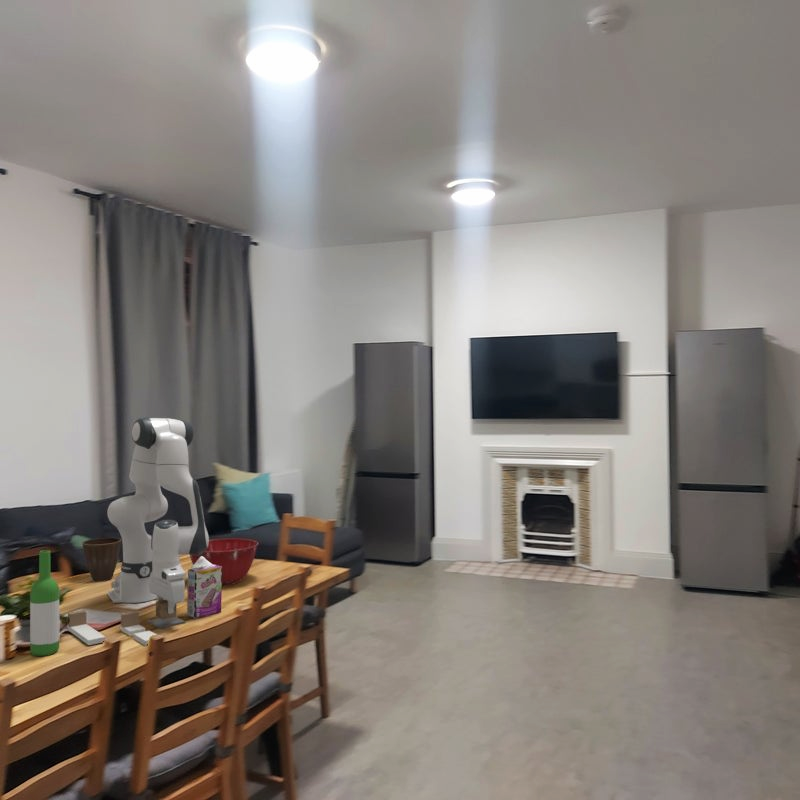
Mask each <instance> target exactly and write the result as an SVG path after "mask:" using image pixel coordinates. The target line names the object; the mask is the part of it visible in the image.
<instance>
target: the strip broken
mask: <svg viewBox="0 0 800 800" xmlns="http://www.w3.org/2000/svg"><path fill="white" fill-rule="evenodd" d="M120 631H121V632H123V633H124V634H125V635H128V636H129V637H132V636H133V639H134V640H135V641H137V642H139V644H142V645H143V646H145V647H147V646H148V645H147V644H148V640H149V638H150V636H152V635H157V633H155V632H153V631H151V630H146V628H145V627H144V626H142V625H140V612H139V611H137V610H131V611H127V612H122V613H120ZM146 645H147V646H146Z"/></svg>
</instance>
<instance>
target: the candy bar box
mask: <svg viewBox="0 0 800 800" xmlns="http://www.w3.org/2000/svg"><path fill="white" fill-rule="evenodd" d="M222 586H223V585H222V566H219V565H208V566H203V567H198V568H193V569H191V568H190V569H187V605H186V607H187V611H186V614H187V617H188V618H191V619H193V620H196V619H200V618H204V617H207V616H211V615H212V616H213V615H215V614H219V613H221V612H222Z"/></svg>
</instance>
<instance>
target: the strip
mask: <svg viewBox="0 0 800 800" xmlns="http://www.w3.org/2000/svg"><path fill="white" fill-rule="evenodd" d="M68 617H69V618H70V623H69V624H68V623H67V631H68V632H70V633H71V634H73V635H74V636H75V637H76V638H78V639H79V640H81V641H82V642H84V643H85V644H86V645H88V646H91V645H97V644H101V643H104V642H103V641H104V640H105V641H106V636H105V635H103V634H102V633H100V632H99V631H97V630H96V629H94V627H92V626H90V625H89V624H87V611H86V610H84V609H83V610H78V611H71V612H67V618H68Z"/></svg>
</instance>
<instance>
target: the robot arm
mask: <svg viewBox="0 0 800 800" xmlns="http://www.w3.org/2000/svg"><path fill="white" fill-rule="evenodd" d="M194 433H195V431H194V427H193V425H192V424H191V422H189V421H186V420H183V419H180V420H179V419H174V418H169V417H168V418H167V417H163V418H161V417H150V418H149V417H140V418H137V420H135V422H134V423H133V425H132V427H131V438H132V441H133V442H134V444H135V447H134V450H133V453H132V460H131V464H130V470H129V474H128V475H129V480H130V481H131V483H133V484H134V487H135V493H134V494H133V495H128V496H122V497H119V498H117V499H115V500H114V501H112V502H110V504H109V505H108V508H107V511H106V512H107V518H108V521H109V522H110V523H111V524H112V525H113V526H114V527H115V528H116V529H117V530H118V532H119V535H120V537H121V538H120V539H121V544H122V561H121V564H120V572H119V573H118V575H117V576H116V577H115V578H114V581H111V590H108V591H107V595H108V597H109V599H110V600H111V601H112V603H115V604H117V603H125V604H127V603H128V604H133V603H144V602H149V601H153V600H155V599H157V600H156V601H160V600H167V601H168V608H167V613H169V614H171V613H173V612H174V606H175V603H176V604H179V603H183V601H184V600H185V594H186V589H185V588H186V582H185V578H186V577H187V573H186V570H185V569H183V567H182V565H181V559H180V556H181V555H183V556H185V555H189V556H190V555H200V554H202V553H203V552H204V551H206V550H207V548H208V545H209V540H210V537H209V536H210V535H209V533H208V529H207V525H206V520H205V512H204V507H203V501H202V496H201V491H200V487H199V484H198V482H197V480H195V479H193V477H192V475H191V473H190V469H189V466H190V465H189V463H190V462H189V461H190V459H189V450H188V447H189V446H190V445H191V444H192V442H193V440H194ZM161 488H163V489H164V490H167V491H170V492H172V493H174V494H177V495H180V496H181V497H184V498H186V499H187V502H188V504H189V507H190V514H191V520H192V524H191V525H188V526H186V525H185V526H184V525H183V526H179V524H178V522H177V521H176V520H172V519H163V520H160V521H159V519H161V518H163V517H164V516H165V515H166V514H167V512H168V508H169V503H168V500H167V498H166V497H165V496H164V494H163V493H162V489H161ZM156 520H158V521H157V522H155V524H154V527H153V531H152V535H150V534H149V533H147V531H146V527H145V526H146V525H145V523H149V522H150V523H151V522H153V521H156Z"/></svg>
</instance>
